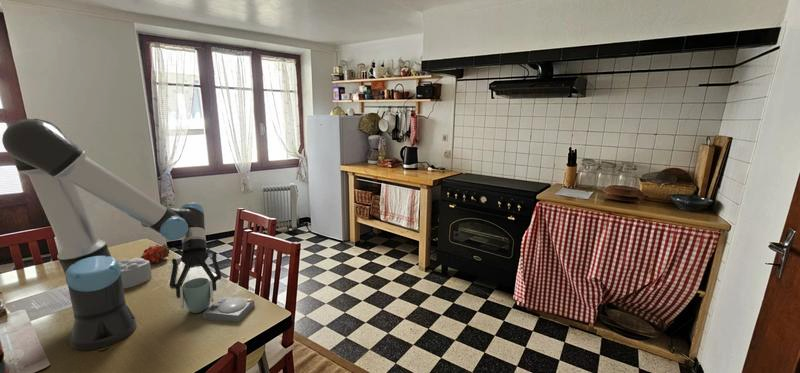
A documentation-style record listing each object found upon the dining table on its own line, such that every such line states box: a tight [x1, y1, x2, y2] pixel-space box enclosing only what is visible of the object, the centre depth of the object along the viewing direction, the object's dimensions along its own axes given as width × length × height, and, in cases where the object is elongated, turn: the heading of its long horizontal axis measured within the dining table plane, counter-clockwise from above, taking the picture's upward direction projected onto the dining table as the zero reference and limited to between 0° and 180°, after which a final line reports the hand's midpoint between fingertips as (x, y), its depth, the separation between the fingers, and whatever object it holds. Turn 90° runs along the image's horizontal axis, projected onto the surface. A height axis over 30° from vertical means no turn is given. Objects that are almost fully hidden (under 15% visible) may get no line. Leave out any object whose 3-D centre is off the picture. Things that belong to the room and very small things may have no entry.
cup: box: [182, 277, 211, 314], centre depth 116 cm, size 8×8×10 cm
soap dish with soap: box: [203, 296, 255, 323], centre depth 115 cm, size 10×12×3 cm
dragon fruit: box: [140, 244, 171, 264], centre depth 152 cm, size 8×8×12 cm
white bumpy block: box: [118, 257, 153, 290], centre depth 133 cm, size 10×13×9 cm
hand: (197, 303), depth 113 cm, fingers closed on cup, 8 cm apart
